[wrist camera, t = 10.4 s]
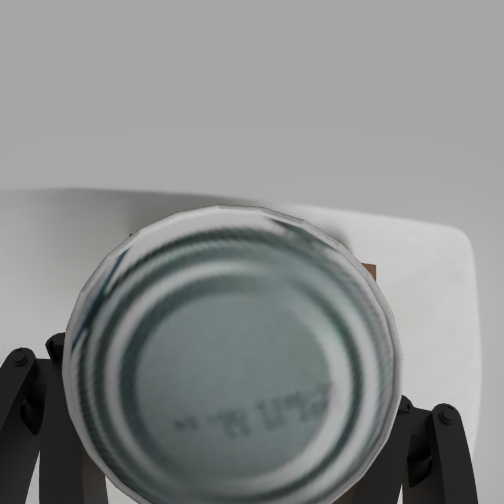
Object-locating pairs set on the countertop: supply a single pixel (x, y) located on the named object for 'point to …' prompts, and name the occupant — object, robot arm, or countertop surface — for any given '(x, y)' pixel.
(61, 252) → the countertop surface
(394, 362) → the canned food
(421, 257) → the countertop surface
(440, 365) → the countertop surface
